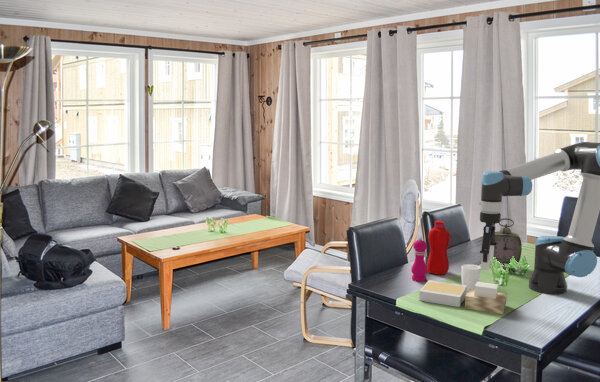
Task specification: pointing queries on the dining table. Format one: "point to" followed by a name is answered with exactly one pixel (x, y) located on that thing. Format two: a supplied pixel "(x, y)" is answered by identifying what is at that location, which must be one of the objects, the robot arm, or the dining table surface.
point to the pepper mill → (419, 261)
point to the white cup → (470, 275)
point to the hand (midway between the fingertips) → (487, 265)
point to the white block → (486, 290)
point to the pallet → (485, 302)
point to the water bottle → (438, 249)
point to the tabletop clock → (507, 244)
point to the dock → (443, 293)
